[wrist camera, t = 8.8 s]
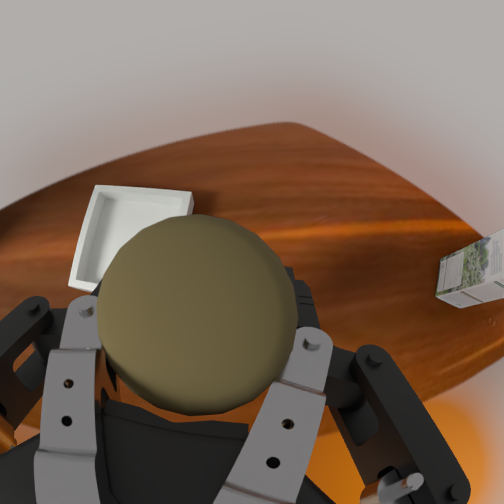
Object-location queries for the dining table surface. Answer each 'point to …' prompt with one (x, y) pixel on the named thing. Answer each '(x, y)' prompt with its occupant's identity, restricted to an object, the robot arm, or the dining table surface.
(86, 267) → the keeper tray
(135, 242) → the cork
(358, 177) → the dining table surface
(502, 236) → the syrup box
